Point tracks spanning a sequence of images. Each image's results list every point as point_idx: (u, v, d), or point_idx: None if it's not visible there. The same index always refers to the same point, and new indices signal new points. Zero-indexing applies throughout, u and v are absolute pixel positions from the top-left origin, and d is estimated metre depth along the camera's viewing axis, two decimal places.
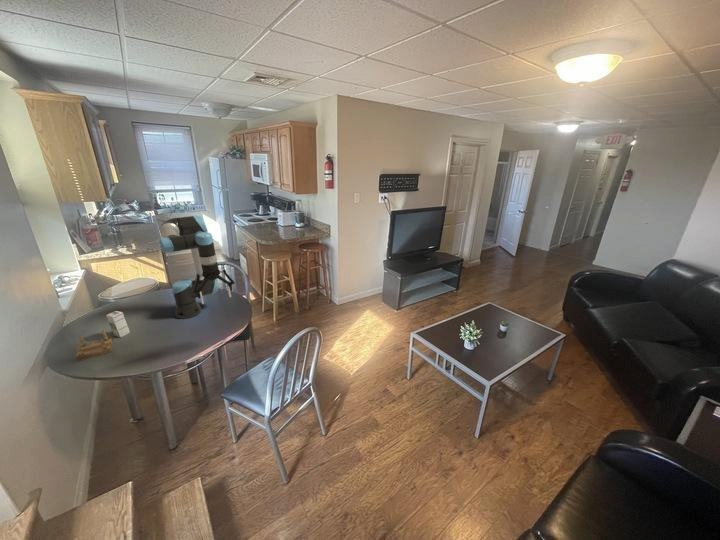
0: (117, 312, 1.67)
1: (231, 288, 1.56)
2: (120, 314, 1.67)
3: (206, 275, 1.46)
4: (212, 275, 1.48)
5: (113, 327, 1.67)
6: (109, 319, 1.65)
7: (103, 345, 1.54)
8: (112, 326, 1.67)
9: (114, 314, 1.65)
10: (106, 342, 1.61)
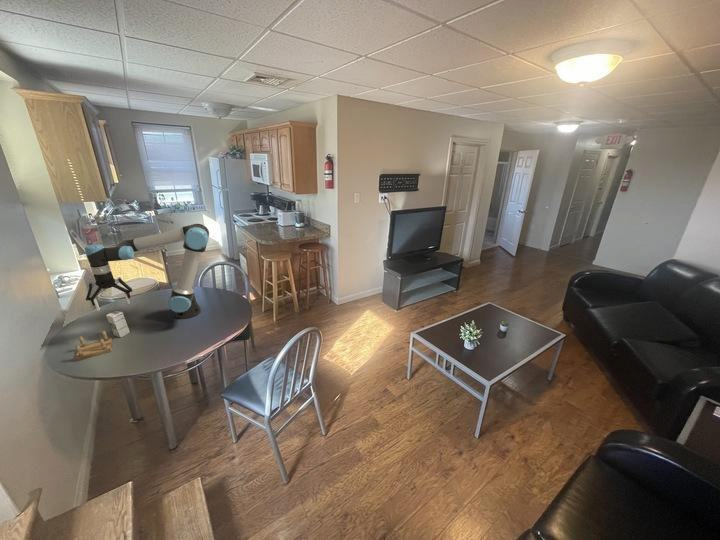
0: (117, 312, 1.67)
1: (129, 295, 1.66)
2: (120, 314, 1.67)
3: (99, 284, 1.56)
4: (106, 284, 1.58)
5: (113, 327, 1.67)
6: (109, 319, 1.65)
7: (103, 345, 1.54)
8: (112, 326, 1.67)
9: (114, 314, 1.65)
10: (106, 342, 1.61)
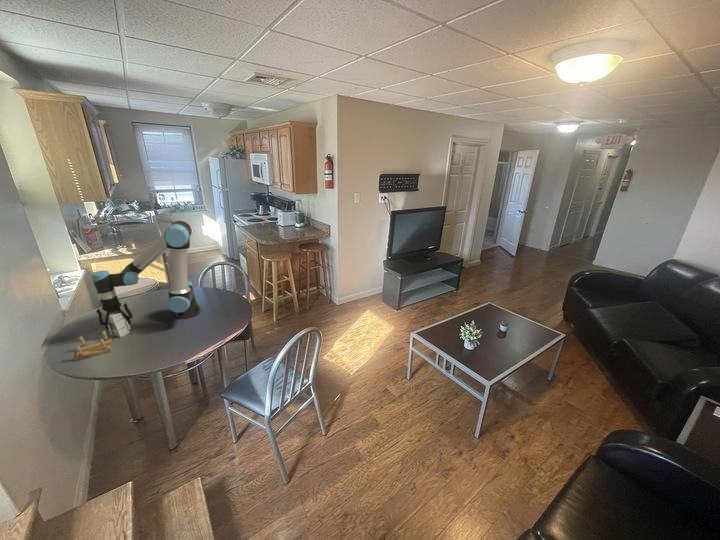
0: (117, 312, 1.67)
1: (129, 322, 1.71)
2: (120, 314, 1.67)
3: (106, 308, 1.62)
4: (112, 307, 1.64)
5: (113, 327, 1.67)
6: (109, 319, 1.65)
7: (103, 345, 1.54)
8: (112, 326, 1.67)
9: (114, 314, 1.65)
10: (106, 342, 1.61)
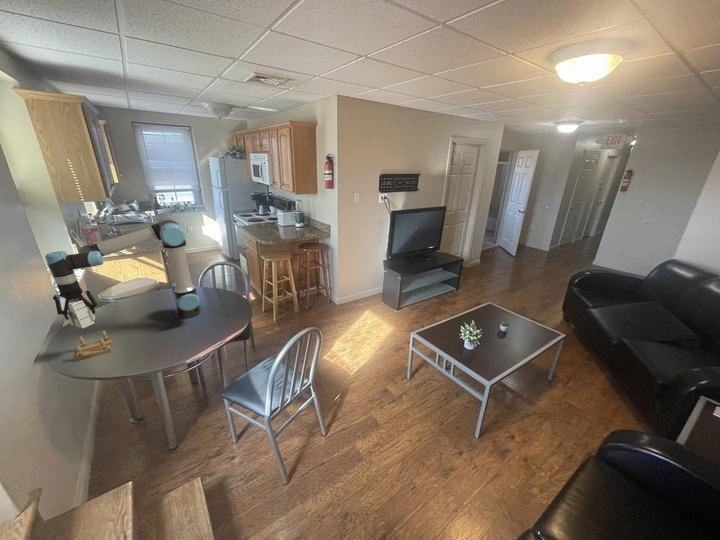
0: (78, 300, 1.47)
1: (93, 311, 1.51)
2: (82, 302, 1.46)
3: (64, 294, 1.42)
4: (71, 294, 1.43)
5: (73, 316, 1.46)
6: (69, 307, 1.44)
7: (103, 345, 1.54)
8: (73, 315, 1.46)
9: (74, 302, 1.45)
10: (106, 342, 1.61)
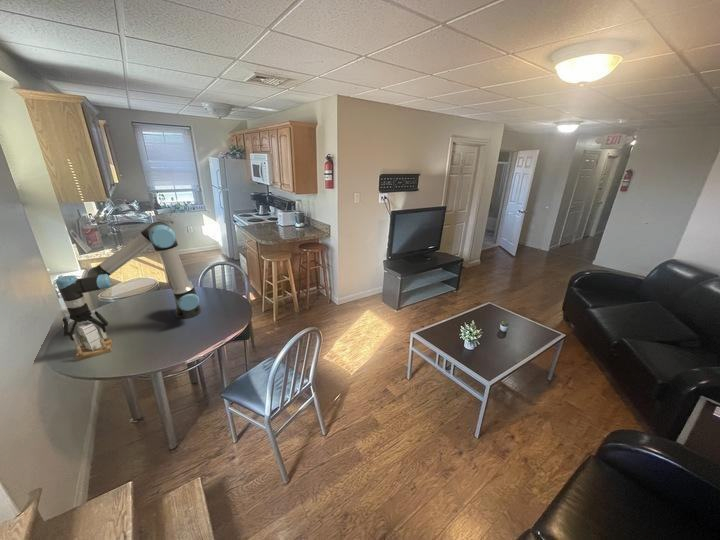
0: (89, 323, 1.52)
1: (104, 330, 1.56)
2: (92, 325, 1.52)
3: (74, 317, 1.47)
4: (81, 316, 1.48)
5: (84, 339, 1.52)
6: (79, 331, 1.50)
7: (103, 345, 1.54)
8: (83, 339, 1.52)
9: (85, 325, 1.50)
10: (106, 342, 1.61)
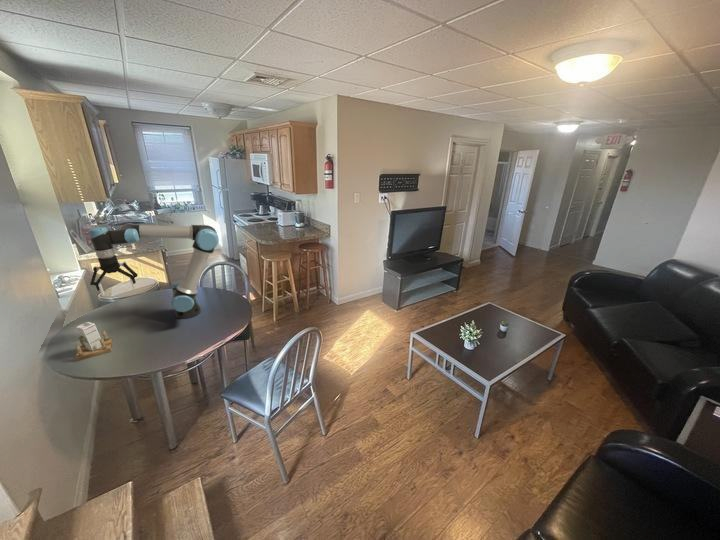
0: (89, 323, 1.52)
1: (134, 281, 1.62)
2: (92, 326, 1.52)
3: (104, 268, 1.52)
4: (111, 268, 1.54)
5: (84, 340, 1.52)
6: (79, 331, 1.50)
7: (103, 345, 1.54)
8: (83, 339, 1.52)
9: (85, 326, 1.50)
10: (106, 342, 1.61)
